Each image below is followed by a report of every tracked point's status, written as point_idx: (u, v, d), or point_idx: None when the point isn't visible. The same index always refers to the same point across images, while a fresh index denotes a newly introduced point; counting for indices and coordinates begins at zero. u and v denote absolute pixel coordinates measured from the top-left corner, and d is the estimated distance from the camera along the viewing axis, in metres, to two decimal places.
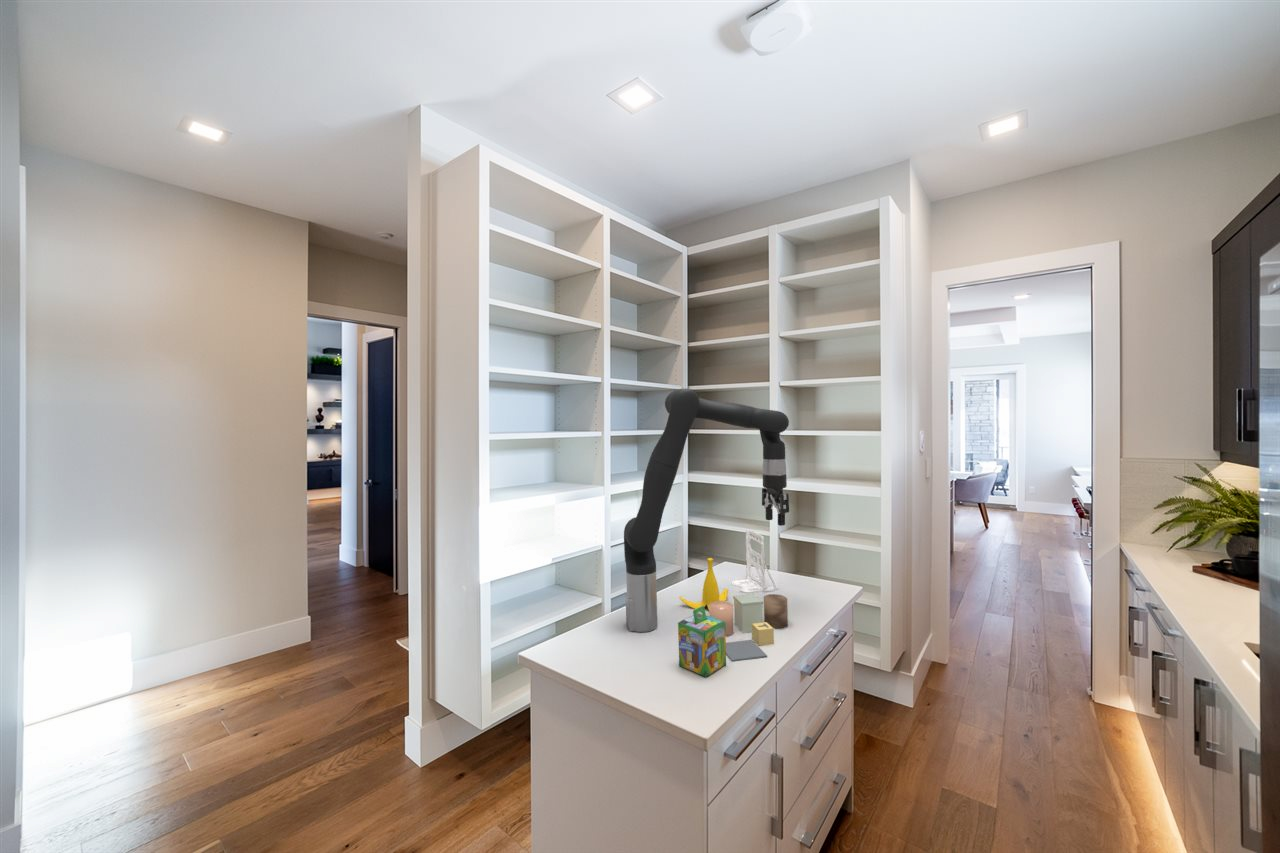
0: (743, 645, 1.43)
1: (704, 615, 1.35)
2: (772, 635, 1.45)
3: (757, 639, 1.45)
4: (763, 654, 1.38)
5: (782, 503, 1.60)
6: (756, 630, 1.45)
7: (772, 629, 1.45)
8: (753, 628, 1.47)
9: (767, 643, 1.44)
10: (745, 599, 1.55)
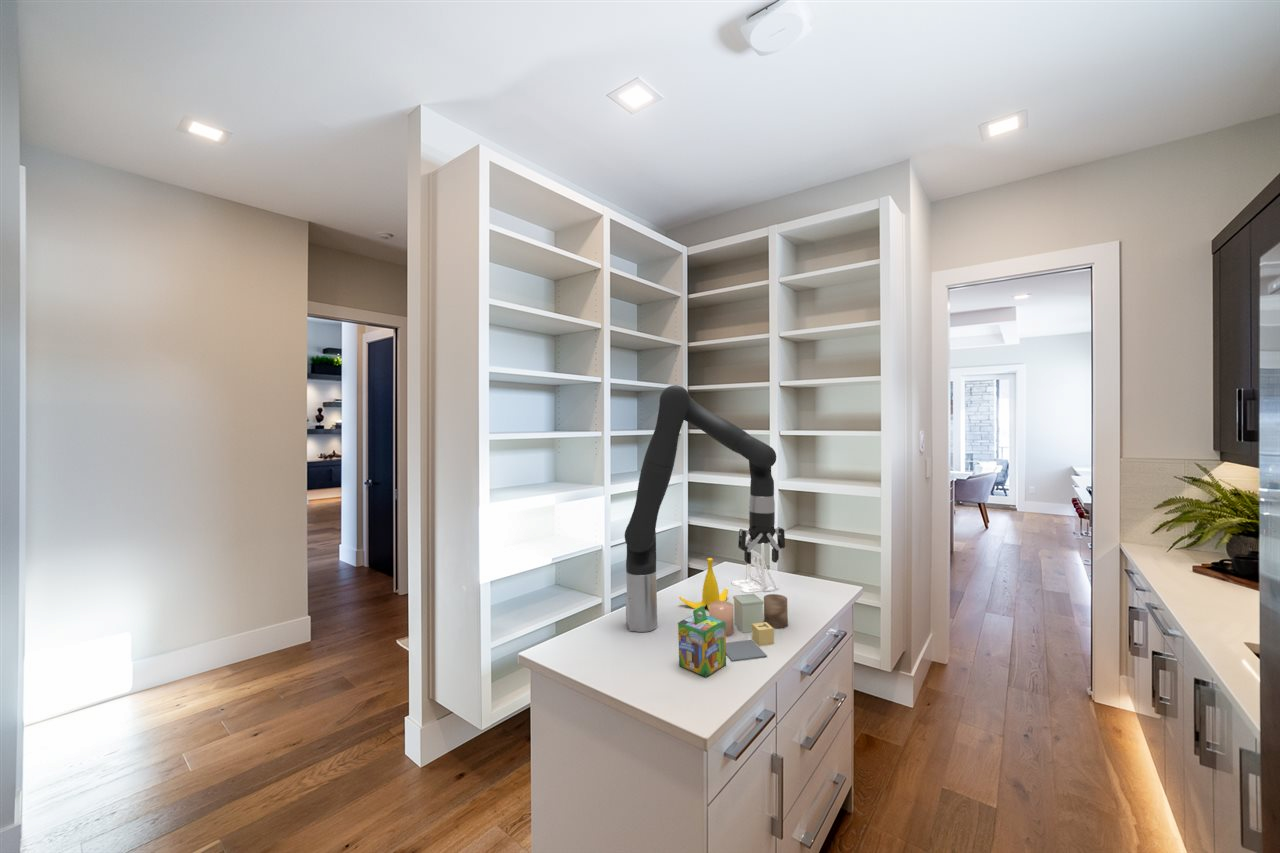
0: (743, 645, 1.43)
1: (704, 615, 1.35)
2: (772, 635, 1.45)
3: (757, 639, 1.45)
4: (763, 654, 1.38)
5: None
6: (756, 630, 1.45)
7: (772, 629, 1.45)
8: (753, 628, 1.47)
9: (767, 643, 1.44)
10: (745, 599, 1.55)
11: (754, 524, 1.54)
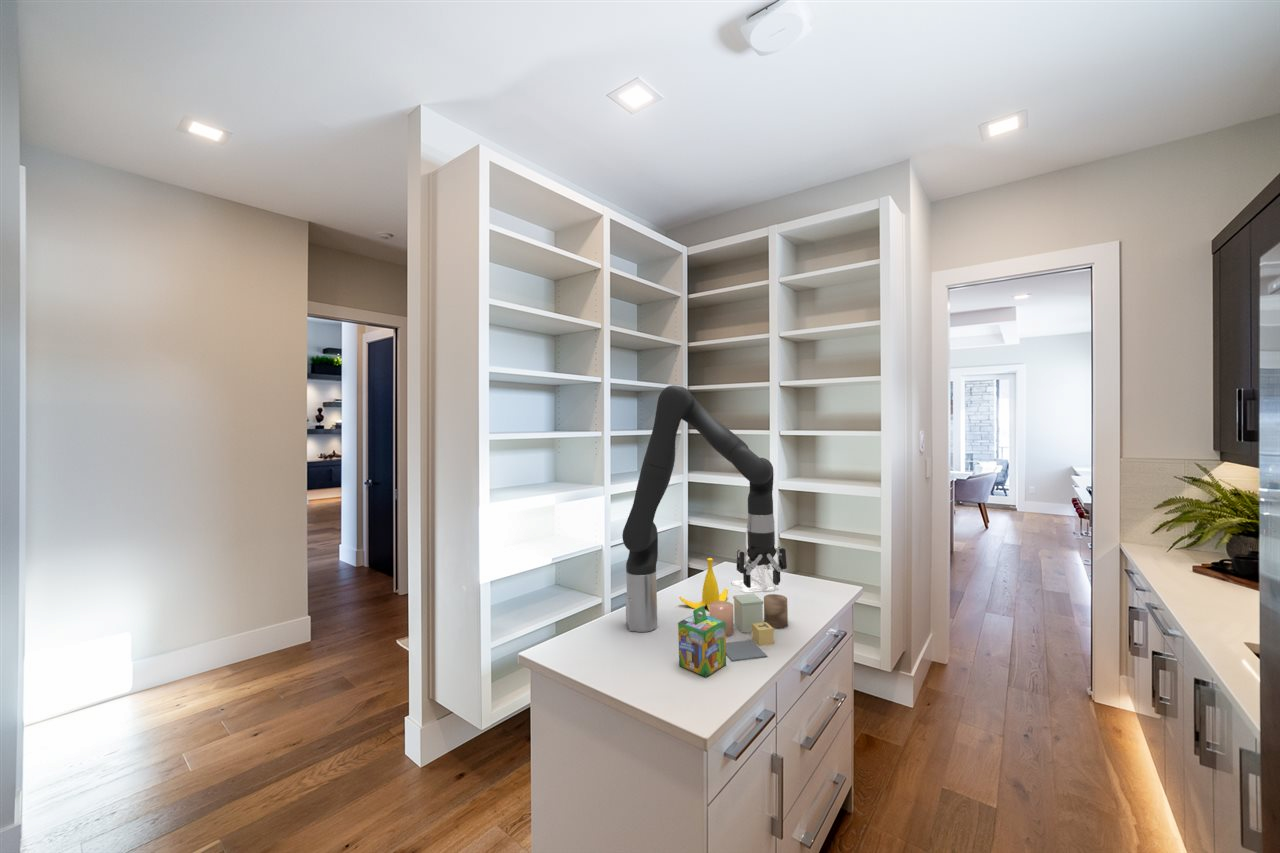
0: (743, 645, 1.43)
1: (704, 615, 1.35)
2: (772, 635, 1.45)
3: (757, 639, 1.45)
4: (763, 654, 1.38)
5: (785, 558, 1.47)
6: (756, 630, 1.45)
7: (772, 629, 1.45)
8: (753, 628, 1.47)
9: (767, 643, 1.44)
10: (745, 599, 1.55)
11: (753, 545, 1.44)
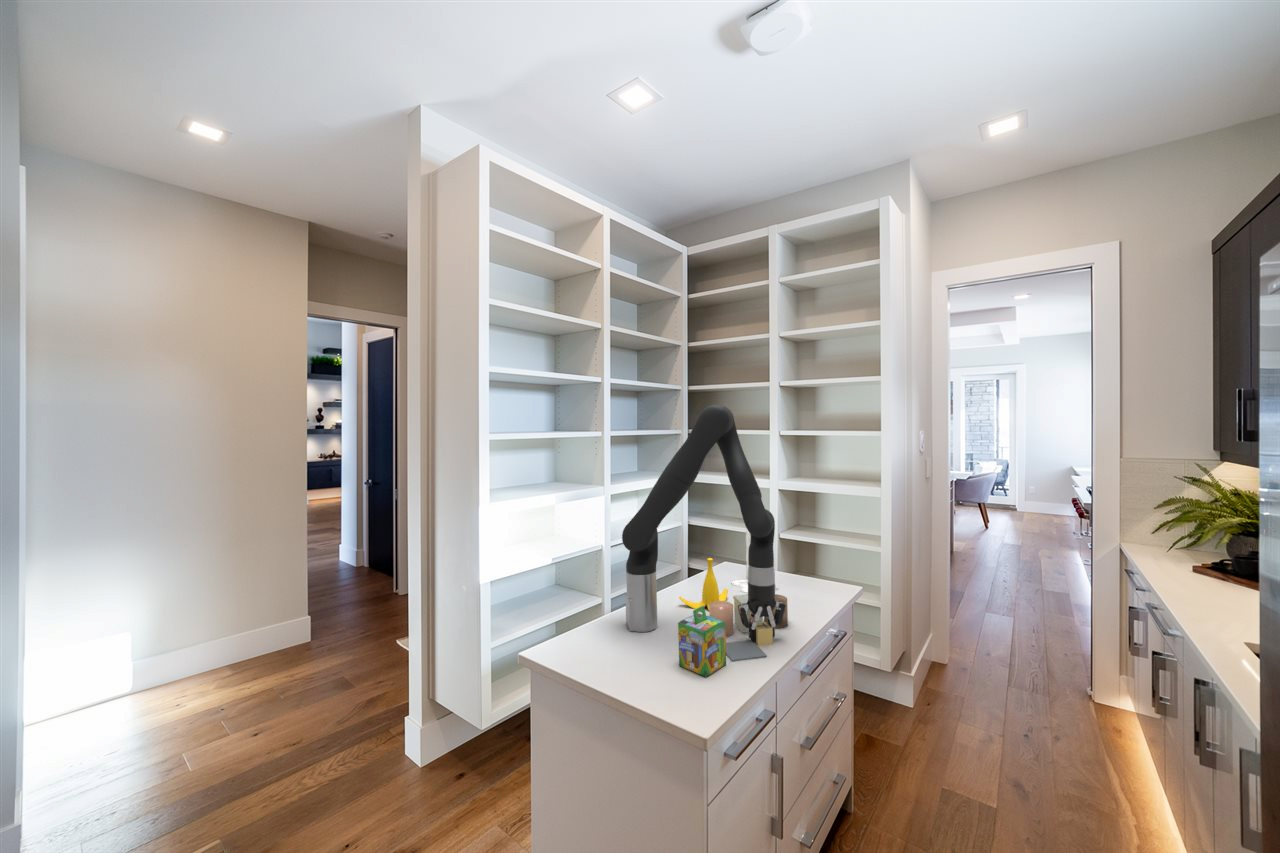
0: (743, 645, 1.43)
1: (704, 615, 1.35)
2: (771, 635, 1.45)
3: (756, 639, 1.45)
4: (763, 654, 1.38)
5: (782, 614, 1.47)
6: None
7: (771, 629, 1.45)
8: None
9: (766, 643, 1.44)
10: (745, 599, 1.55)
11: (753, 597, 1.44)
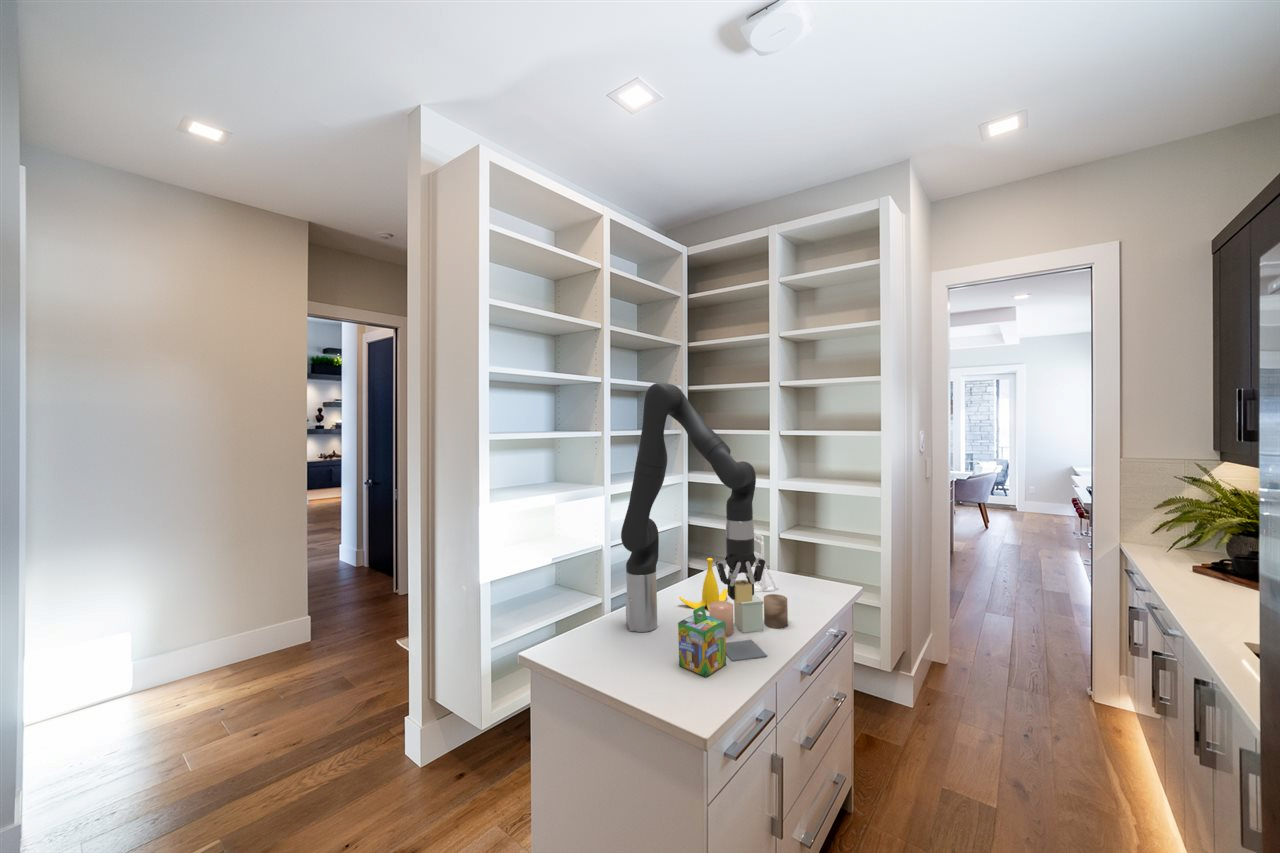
0: (743, 645, 1.43)
1: (704, 615, 1.35)
2: (750, 592, 1.39)
3: (735, 596, 1.39)
4: (763, 654, 1.38)
5: None
6: None
7: (750, 585, 1.39)
8: None
9: (745, 600, 1.39)
10: None
11: (731, 552, 1.38)
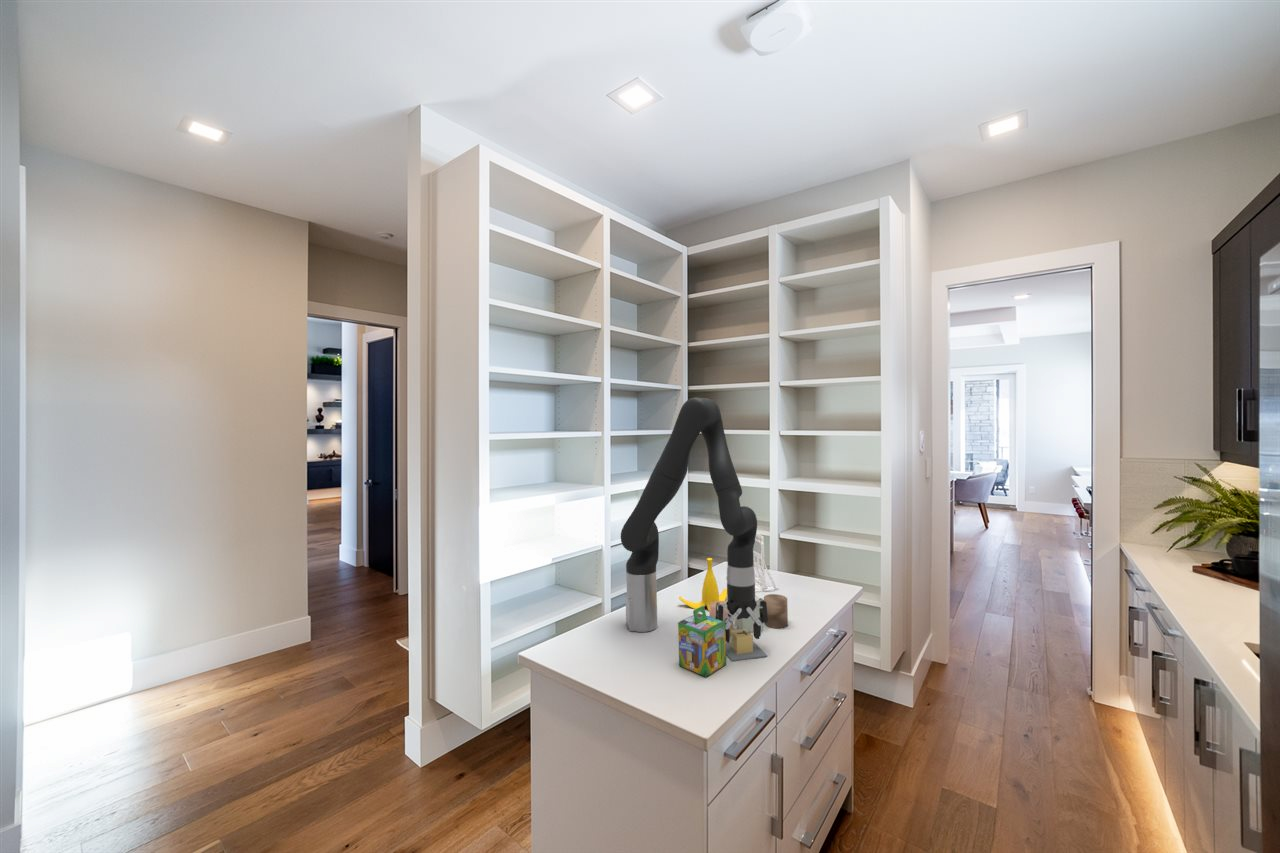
0: None
1: (704, 615, 1.35)
2: (751, 643, 1.39)
3: (735, 647, 1.39)
4: (763, 654, 1.38)
5: None
6: (734, 637, 1.40)
7: (751, 636, 1.39)
8: (732, 635, 1.42)
9: (746, 651, 1.39)
10: None
11: (732, 598, 1.38)
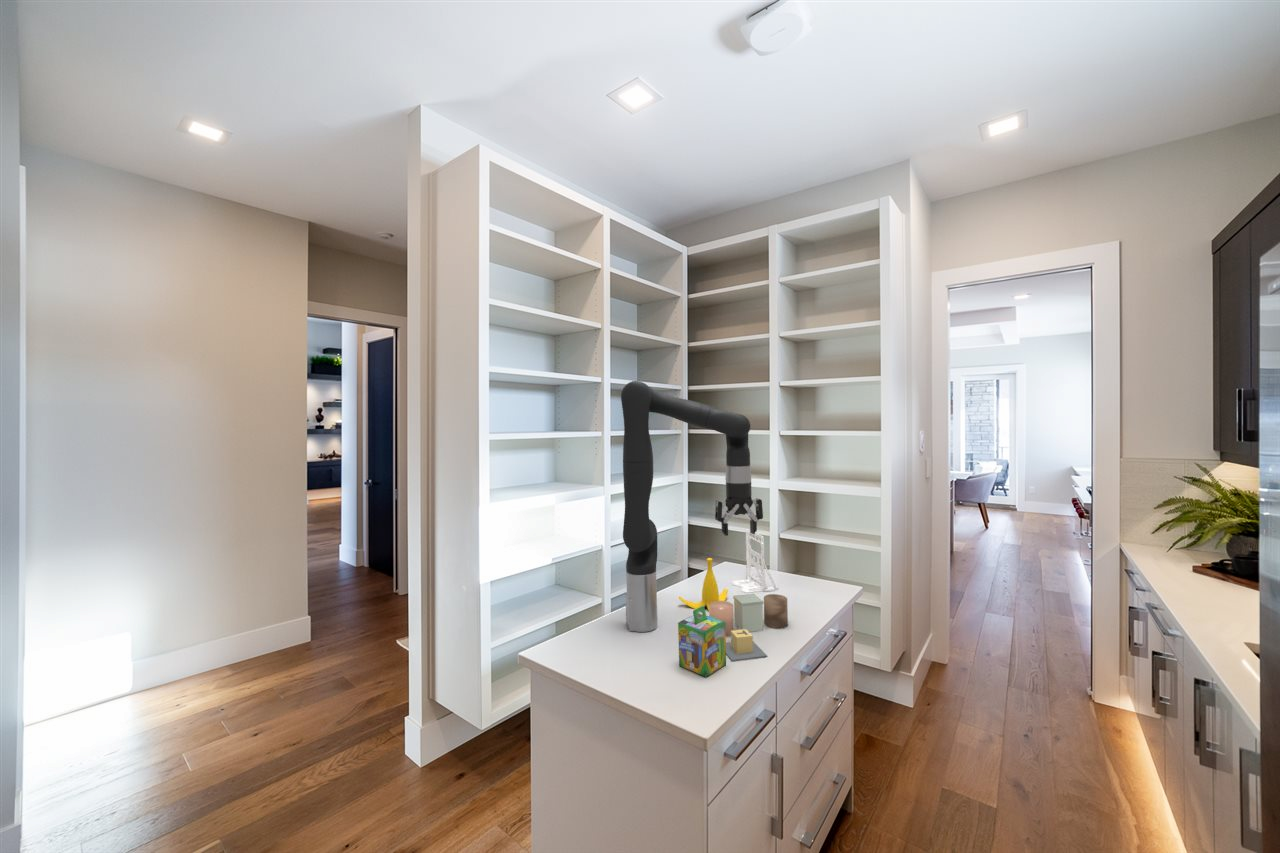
0: None
1: (704, 615, 1.35)
2: (751, 643, 1.39)
3: (735, 647, 1.39)
4: (763, 654, 1.38)
5: (761, 509, 1.55)
6: (734, 637, 1.40)
7: (751, 636, 1.39)
8: (732, 635, 1.42)
9: (746, 651, 1.39)
10: (745, 599, 1.55)
11: (730, 495, 1.52)
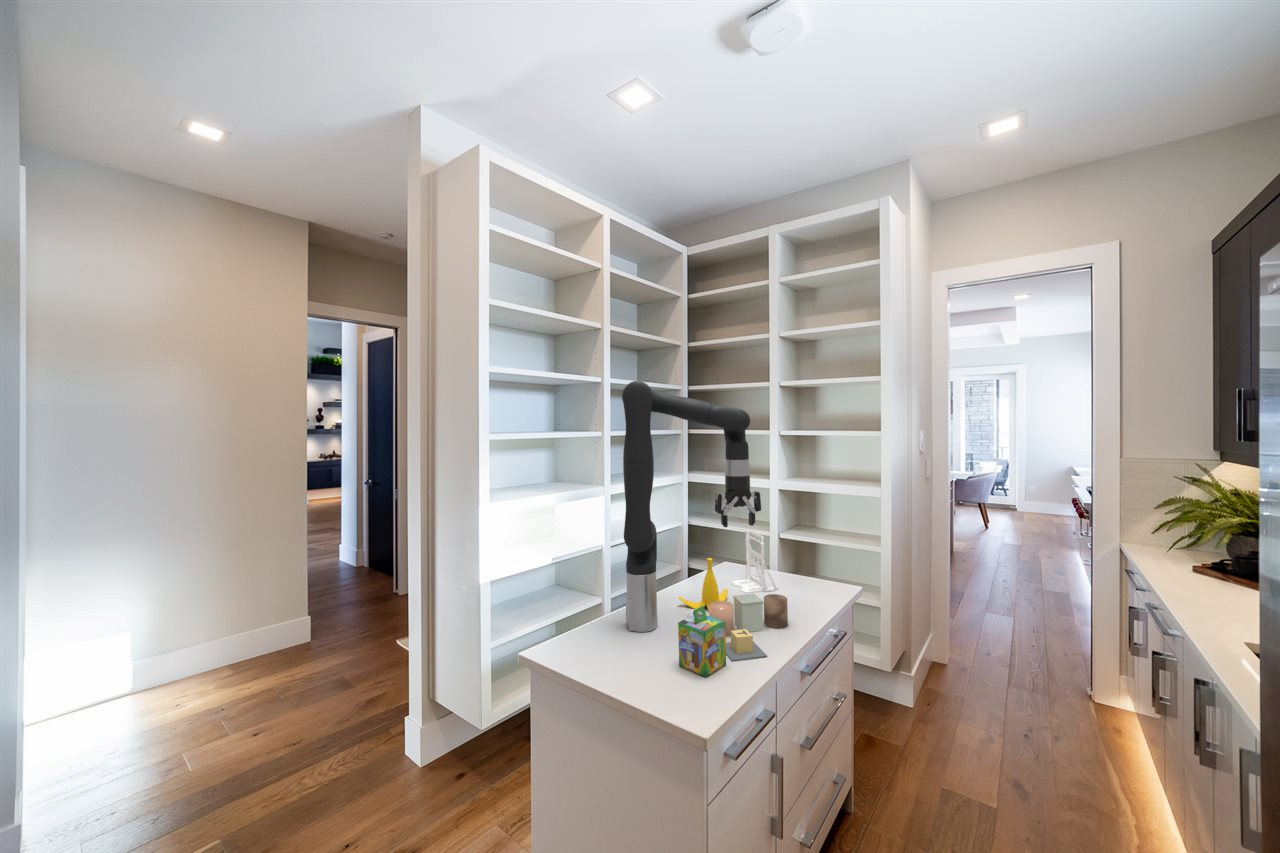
0: None
1: (704, 615, 1.35)
2: (751, 643, 1.39)
3: (735, 647, 1.39)
4: (763, 654, 1.38)
5: None
6: (734, 637, 1.40)
7: (751, 636, 1.39)
8: (732, 635, 1.42)
9: (746, 651, 1.39)
10: (745, 599, 1.55)
11: (729, 487, 1.57)
